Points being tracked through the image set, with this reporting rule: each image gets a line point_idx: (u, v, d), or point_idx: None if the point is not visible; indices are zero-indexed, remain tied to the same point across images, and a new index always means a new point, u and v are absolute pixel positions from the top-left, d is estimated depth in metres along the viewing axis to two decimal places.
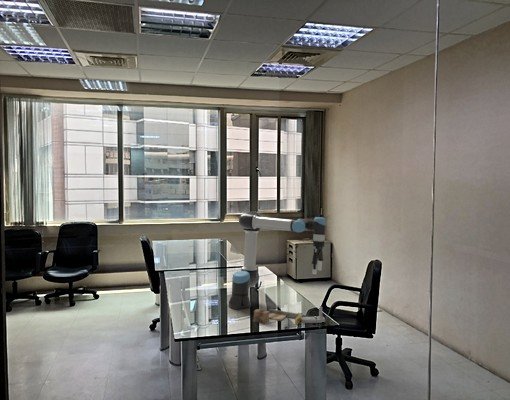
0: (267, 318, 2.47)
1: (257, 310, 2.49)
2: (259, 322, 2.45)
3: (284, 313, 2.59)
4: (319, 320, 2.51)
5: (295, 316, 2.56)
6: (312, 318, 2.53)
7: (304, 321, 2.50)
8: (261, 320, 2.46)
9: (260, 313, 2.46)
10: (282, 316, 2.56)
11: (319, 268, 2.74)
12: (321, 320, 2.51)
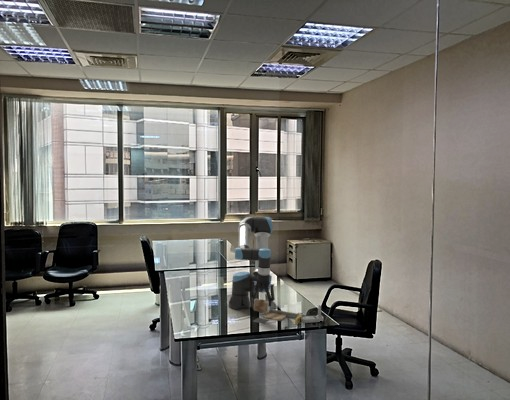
0: None
1: (257, 300, 2.49)
2: (259, 322, 2.45)
3: (284, 313, 2.59)
4: (319, 319, 2.53)
5: (295, 316, 2.56)
6: (312, 317, 2.54)
7: (304, 321, 2.51)
8: (261, 310, 2.46)
9: (260, 303, 2.46)
10: (282, 316, 2.56)
11: None
12: (320, 319, 2.53)
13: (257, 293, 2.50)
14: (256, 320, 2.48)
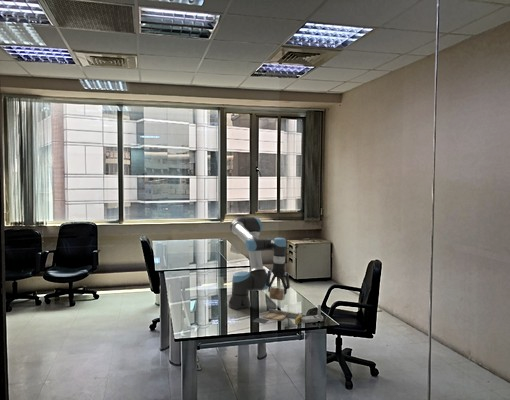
0: None
1: (273, 288, 2.56)
2: (259, 322, 2.45)
3: (284, 313, 2.59)
4: (319, 319, 2.53)
5: (295, 316, 2.56)
6: (312, 317, 2.54)
7: (305, 321, 2.51)
8: (277, 298, 2.52)
9: (276, 291, 2.52)
10: (282, 316, 2.56)
11: None
12: (320, 319, 2.54)
13: (272, 282, 2.56)
14: (256, 320, 2.48)
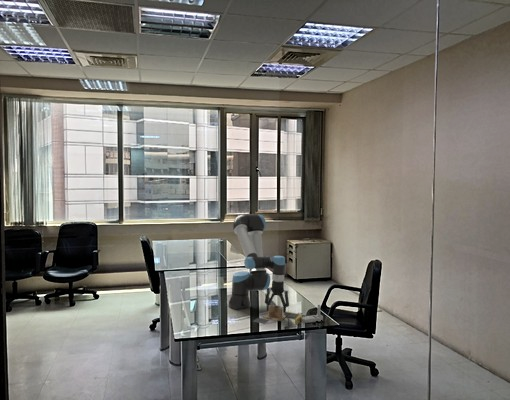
0: None
1: (272, 306, 2.56)
2: (259, 322, 2.45)
3: (284, 313, 2.59)
4: (318, 319, 2.54)
5: (295, 316, 2.56)
6: (311, 317, 2.54)
7: (305, 321, 2.51)
8: (276, 316, 2.52)
9: (275, 309, 2.53)
10: None
11: None
12: (320, 318, 2.54)
13: (271, 299, 2.57)
14: (256, 320, 2.48)
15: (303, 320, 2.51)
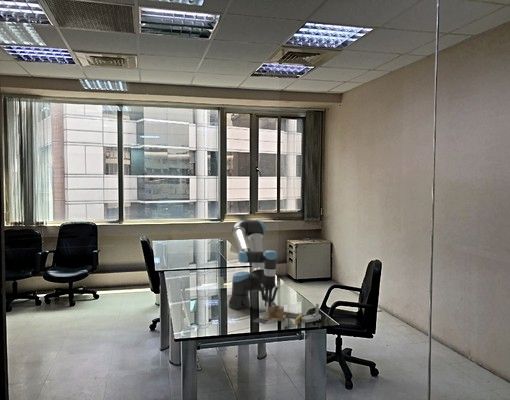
0: (282, 314, 2.54)
1: (272, 306, 2.56)
2: (259, 322, 2.45)
3: (284, 313, 2.59)
4: (317, 317, 2.56)
5: (295, 316, 2.56)
6: (311, 316, 2.55)
7: (306, 321, 2.51)
8: (276, 316, 2.52)
9: (275, 309, 2.53)
10: None
11: None
12: (319, 317, 2.57)
13: (267, 295, 2.58)
14: (256, 320, 2.48)
15: (304, 320, 2.51)
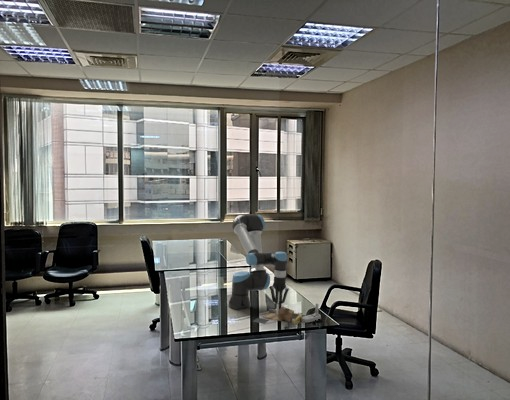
0: (291, 317, 2.51)
1: (283, 308, 2.53)
2: (259, 322, 2.45)
3: None
4: (317, 317, 2.56)
5: (295, 316, 2.56)
6: (311, 316, 2.56)
7: (306, 321, 2.51)
8: (285, 318, 2.50)
9: (286, 312, 2.50)
10: None
11: None
12: (319, 317, 2.57)
13: (277, 297, 2.55)
14: (256, 320, 2.48)
15: (304, 320, 2.51)
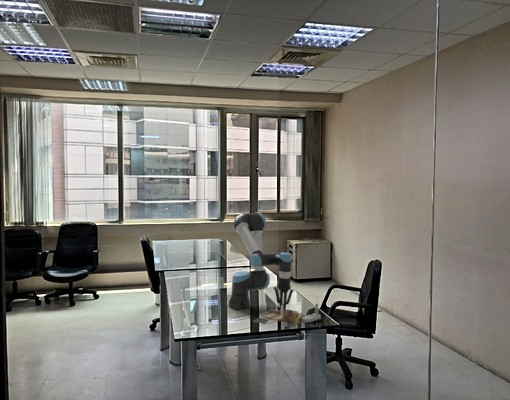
0: None
1: (286, 310, 2.52)
2: (259, 322, 2.45)
3: None
4: (317, 317, 2.56)
5: None
6: (311, 316, 2.56)
7: (306, 321, 2.51)
8: (290, 320, 2.49)
9: (289, 313, 2.49)
10: (282, 316, 2.56)
11: None
12: (319, 317, 2.57)
13: (282, 298, 2.54)
14: (256, 320, 2.48)
15: (304, 320, 2.51)
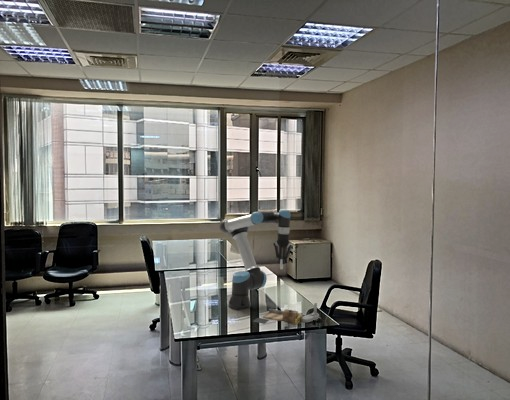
0: None
1: (286, 310, 2.52)
2: (259, 322, 2.45)
3: None
4: (316, 317, 2.58)
5: None
6: (310, 316, 2.56)
7: (307, 321, 2.51)
8: (290, 320, 2.49)
9: (289, 313, 2.49)
10: (282, 316, 2.56)
11: None
12: (318, 316, 2.58)
13: (281, 253, 2.66)
14: (256, 320, 2.48)
15: (305, 320, 2.51)
